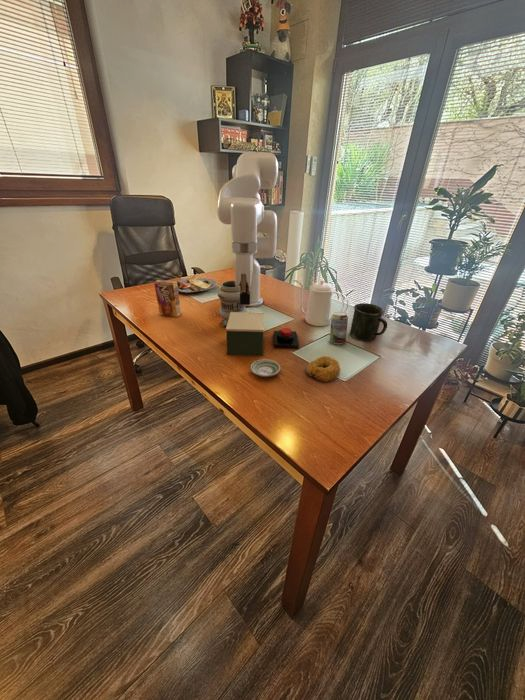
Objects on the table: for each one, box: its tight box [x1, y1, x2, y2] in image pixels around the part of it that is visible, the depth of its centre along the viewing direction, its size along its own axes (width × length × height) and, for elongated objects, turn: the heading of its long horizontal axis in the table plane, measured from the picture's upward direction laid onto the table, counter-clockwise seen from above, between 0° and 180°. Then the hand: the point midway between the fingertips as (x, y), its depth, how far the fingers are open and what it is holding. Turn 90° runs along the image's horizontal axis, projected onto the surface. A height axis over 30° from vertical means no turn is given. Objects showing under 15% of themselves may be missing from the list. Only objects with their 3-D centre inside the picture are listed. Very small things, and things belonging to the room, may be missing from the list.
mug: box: [349, 302, 388, 342], centre depth 114 cm, size 11×15×12 cm
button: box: [280, 327, 293, 336], centre depth 111 cm, size 4×4×2 cm
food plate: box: [176, 275, 217, 293], centre depth 163 cm, size 25×23×4 cm
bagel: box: [305, 355, 342, 382], centre depth 94 cm, size 10×11×5 cm
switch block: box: [273, 329, 300, 350], centre depth 112 cm, size 11×9×4 cm
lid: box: [225, 311, 265, 333], centre depth 104 cm, size 14×13×1 cm
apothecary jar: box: [216, 280, 248, 329], centre depth 120 cm, size 12×12×18 cm
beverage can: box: [329, 311, 349, 345], centre depth 110 cm, size 6×7×12 cm
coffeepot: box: [293, 279, 349, 327], centre depth 124 cm, size 11×25×19 cm, turn 62°
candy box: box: [153, 279, 182, 318], centre depth 129 cm, size 9×4×15 cm, turn 78°
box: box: [225, 322, 265, 356], centre depth 107 cm, size 14×13×10 cm
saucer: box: [250, 358, 282, 378], centre depth 94 cm, size 10×10×2 cm
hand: (245, 303), depth 97 cm, fingers closed
